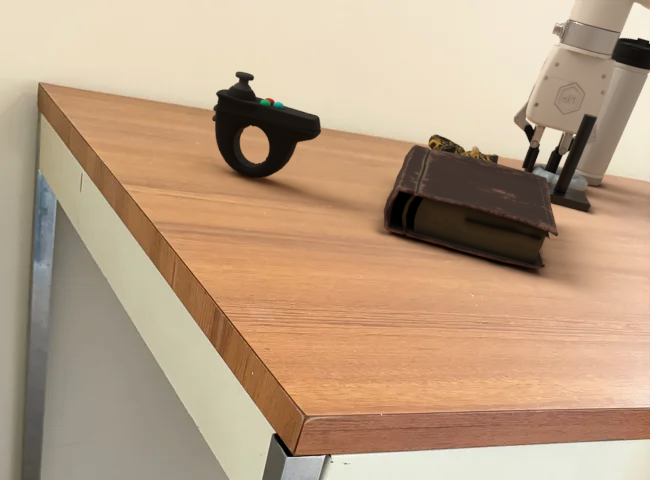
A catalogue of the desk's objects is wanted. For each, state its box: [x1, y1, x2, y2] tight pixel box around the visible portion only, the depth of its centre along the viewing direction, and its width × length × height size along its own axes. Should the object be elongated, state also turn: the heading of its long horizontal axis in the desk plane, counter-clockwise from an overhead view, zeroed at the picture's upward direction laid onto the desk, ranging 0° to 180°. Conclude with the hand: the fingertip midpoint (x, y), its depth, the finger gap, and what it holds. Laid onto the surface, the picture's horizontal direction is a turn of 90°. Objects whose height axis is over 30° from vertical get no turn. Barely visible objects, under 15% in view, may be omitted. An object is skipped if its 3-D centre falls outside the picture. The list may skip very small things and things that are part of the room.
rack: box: [548, 114, 597, 213], centre depth 116 cm, size 8×8×11 cm
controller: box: [211, 71, 322, 179], centre depth 93 cm, size 4×12×10 cm, turn 71°
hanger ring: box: [531, 163, 589, 192], centre depth 127 cm, size 9×9×2 cm
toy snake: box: [427, 134, 499, 164], centre depth 120 cm, size 18×5×10 cm
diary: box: [383, 144, 559, 269], centre depth 96 cm, size 19×25×5 cm
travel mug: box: [575, 37, 650, 187], centre depth 128 cm, size 6×7×20 cm
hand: (536, 176), depth 127 cm, fingers closed on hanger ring, 2 cm apart
